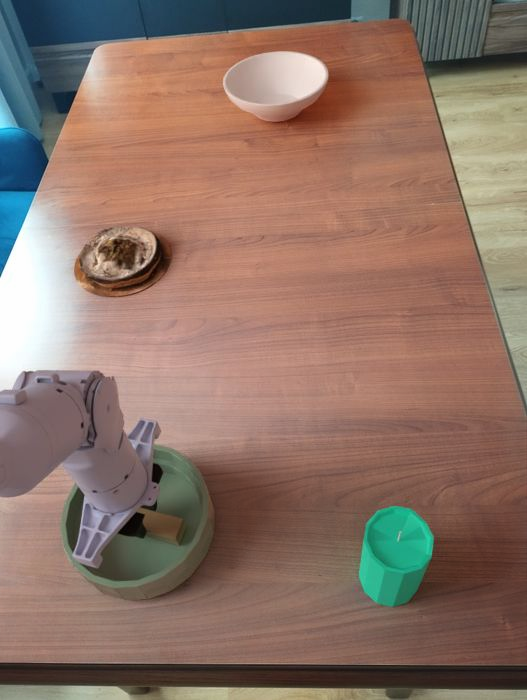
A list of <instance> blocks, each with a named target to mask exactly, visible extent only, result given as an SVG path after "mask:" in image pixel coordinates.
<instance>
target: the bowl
mask: <svg viewBox="0 0 527 700" xmlns="http://www.w3.org/2000/svg"><path fill="white" fill-rule="evenodd" d="M329 76H330V75H329V69H328V67H327V66H326V64H325V63H324V62H323V61H322V60H321V59H319V58H318V57H315V56H314V55H311V54H308V53H303V52H299V51H291V50H278V51H268V52H262V53H259V54H255V55H251V56H249V57H246V58H244V59H242V60H240V61H238V62H236V63H235V64H234V65H232V66H231V67H230V68H229V69H227V71H226V73H224V76H223V80H222V85H223V89H224V91H225V94H226V95H227V97H228V98H229V100H230V101H231V102H232V103H233V104H234V105H235V106H236V107H237V108H239V109H240V110H242V111H244V112H246V113H248V114H252V115H254V116H255V117H256V118H258V119H259V120H262V121H264V122H265V121H266V122H272V123H273V122H274V123H275V122H282V121H289V120H290V119H294V118H295V117H297V116H298V115H299V114H300V113H301V112H302V111H303V110H305V109H306V108H308V107H310V106H312V105H313V104H314V103H315V102H316V101H317V100H318V99H319V98H320V97H321V95H322V93H323V92H324V91H325V89H326V86H327V83H328V81H329Z"/></svg>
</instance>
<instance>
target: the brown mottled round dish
mask: <svg viewBox="0 0 527 700" xmlns="http://www.w3.org/2000/svg"><path fill="white" fill-rule="evenodd" d="M91 239H93V240H91V241H90V242H88V243H86V244H84V246H83V247H82V249H81V251H80V252H79V254H78V255H77V257H76V259H75V262H74V267H73V272H74V277H75V280H76V282H77V284H78V285H79V286H80V287H81V288H82V289H84V290H85V291H87V292H89V293H91V294H93V295H98V296H102V297H108V298H109V297H123V296H128V295H131V294H135V293H139V292H142V291H143V290H145V289H147V288H149V287H151V286H152V285H153V284H155V283H157V281H159V280H160V279H161V278H162V277H163V276H164V274H165V273H166V271H167V269H168V268H169V266H170V263H171V259H172V252H171V251H172V250H171V247H170V245H169V243H168V241H167V240H166V239H165V238H164V237H163V236H162V235H160V234H158V233H156V232H155V231H151V230H148V229H147V228H143V227H139V226H135V227H134V226H113V227H109V228H104V229H102V230H100V231H98V232H97V234H96V235H95V236H94V237H93V236H92V237H91Z"/></svg>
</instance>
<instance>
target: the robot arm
mask: <svg viewBox="0 0 527 700" xmlns="http://www.w3.org/2000/svg"><path fill="white" fill-rule="evenodd" d="M119 396H120V395H119V389H118V384H117V381H116V378H115V376H114V375H112V376H105V374H104V373H103V372H101V370H92V369H91V370H87V369H86V370H85V369H84V370H81V369H79V370H77V369H76V370H75V369H73V370H72V369H71V370H69V369H63V370H62V369H38V370H37V369H36V370H27V371H26V370H22V371H21V372H20V373H19V375H18V376H17V378H16V379H15V382H14V383H13V386H12V388H11V389H2V390H0V498H16V497H20V496H23V495H25V494H27V493H29V492H30V491H32V490H34V489H35V488H36V487H37V486H38V485H39V484H40V483H42V482H43V481H44V479H46V478H47V477H49V475H50V474H51V473H52V472H54V471H55V470H56V469H57V468H58V467H59V466H61V467H62V468H63V469H64V470H65V471H66V473H67V474H68V475H69V477H70V478H71V479H72V481H73V482H74V484H75V483H76V484H77V486H78V487H79V488H80V490H81V491H82V492H83V493H84V495H85V497H84V504H83V511H82V518H81V525H80V532H79V537H78V542H77V545H76V548H75V550H74V553H73V555H72V556H73V557H74V558H75V559H76V560H77V561H78V562H79V563H81V564H84V565H87V566H91V567H94V568H97V569H98V568H99V566H100V564H101V562H102V560H103V557H102V556H101V555H100V553H101V552H102V550H103V549H104V548H105V546H106V545H107V544H108V543H109V542H110V541H111V539H112V538H113V537H114V536H115V535H116V534H121V535H124V536H129V537H138V538H142V539H143V538H144V537H145V535H146V528H145V526H144V525H143V519H144V516H145V514H142V513H139V512H136V511H137V510H138V509H139V508H144V509H148V510H151V511H156V509H157V497H158V495H159V493H160V487H159V485H158V484H159V482H160V480H161V477H162V475H163V470H162V468H161V467H160V466H159V465H158V464H155V463H153V452H154V444H155V440H158V439H159V437H160V435H161V433H162V430H161V427H160V425H159V423H158V421H157V420H152V419H148V418H144V417H139V418H138V420H137V422H136V424H135V425H134V426H133V428H132V429H131V430H130V432H129V433H128V434H127V433H126V431H125V430H124V427H125V419H124V417H125V415H124V413H123V411H122V409H121V406H120V400H119V398H120V397H119Z"/></svg>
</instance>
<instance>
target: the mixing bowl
mask: <svg viewBox="0 0 527 700" xmlns="http://www.w3.org/2000/svg"><path fill="white" fill-rule="evenodd" d="M153 463H155V464H158V465H159V466H160V467H161V468H162V470H163V475H162V477H161V480H160V482H159V484H158V485H159V487H160V493H159V495H158V497H157V509H156V511H155V512H159V513H163V514H166V515H170V516H174V517H177V518H181V519H183V520H184V522H185V524H186V526H187V529H186V531H185V534H184V536H183V539H182V541H181V544H180V546H177V545H174V544H170V543H167V542H163V541H160V540H156V539H153V538H149V537H146V536H145V537H144V538H143V539H142V538H138V537H129V536H124V535H121V534H116V535H115V536H114V537H113V538H112V539H111V541H110V542H109V543H108V544H107V545H106V546H105V548H104V549H103V550H102V552H101V553H100V555H101V556H102V557H103V560H102V562H101V564H100V566H99V568H98V569H97V568H94V567H91V566H87V565H84V564H81V563H79V562H78V561H77V560H76V559H75V558H74V557H73V556H72V555H73V553H74V550H75V548H76V545H77V542H78V537H79V532H80V525H81V518H82V511H83V504H84V497H85V495H84V493H83V492H82V491H81V490H80V488H79V487H78V486H77V484H76V483H75V482H74V484H73V486H72V488H71V490H70V492H69V493H68V496H67V497H66V499H65V502H64V504H63V508H62V514H61V517H60V518H61V519H60V523H59V527H60V528H59V529H60V535H61V543H62V548H63V550H64V553H65V554H66V556H67V558H68V561H70V563H71V566H72V567H73V568H74V569H75V570H76V571H77V572H78V573H79V574H80V575H81V576H82V577H84V578H85V579H86V580H87V581H88V582H89V583H91V584H92V585H93V586H94V587H95V588H96V589H98V591H100V592H102V593H103V594H105V595H107V596H110V597H114V598H117V599H120V600H124V601H135V600H149V599H152V598H155V597H158V596H161V595H163V594H166V593H168V592H171V591H173V590H175V589H176V588H177V587H179V586H180V585H181V584H182V583H184V582H185V581H186V580H188V578H190V577H192V575H193V574H194V572H195V571H196V570H197V568H198V567H199V566H200V564H201V563H202V562H203V560H204V559H205V558H206V556H208V555H207V554H208V551H209V550H210V546H211V544H212V541H213V539H214V535H215V523H216V522H215V519H216V518H215V516H216V512H215V508H214V504H213V502H212V501H213V500H212V498H211V493H210V491H209V489H208V486H207V484H206V481H205V479H204V476H203V473H201V472H200V470H199V469H198V467H197V466H196V465H195V464H194V462H193V461H192V459H190V458H189V457H188V456H186V455H184V454H183V453H180V451H178V450H176V449H175V448H173V447H169V446H165V445H160V444H156V443H154V452H153Z"/></svg>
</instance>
